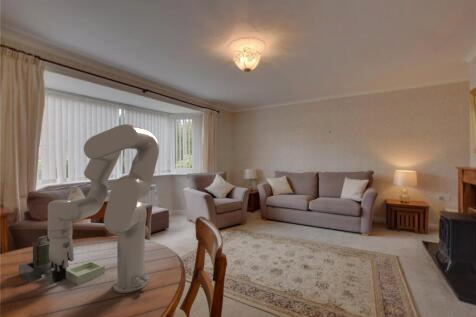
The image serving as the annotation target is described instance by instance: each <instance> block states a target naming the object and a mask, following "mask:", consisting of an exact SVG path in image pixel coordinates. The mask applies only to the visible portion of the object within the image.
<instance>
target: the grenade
mask: <svg viewBox="0 0 476 317" xmlns="http://www.w3.org/2000/svg"><path fill="white" fill-rule="evenodd" d="M34 242H35V243H34ZM31 245H32V261H33V265H34V269H36V268H39V267H40V268H42V276H43V275H44V276H45V271H46V270H49V269H52V261H50V260H49V240H48V235H42V236H39V237H37V238H36V239H35V240H34V241H32V242H31Z"/></svg>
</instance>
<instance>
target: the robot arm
mask: <svg viewBox="0 0 476 317" xmlns="http://www.w3.org/2000/svg"><path fill="white" fill-rule="evenodd" d="M127 149H128V150H129V149H130V150H136V154H135V156H134V158H133V160H132V162H131V166H130V170H129V173H128V175H123V176H121V177H119V178H117V180H116V181H115V182H114V183H113V185H112V187H111V189H110V192H109V178H110V176H111V174H112V172H113V170H114V168H115V166H116V164H117V162H118V161H119V158H120V156H121V154H122V151H124V150H127ZM83 154H84V155H85V156H86V157H87V158H88V159H89V161H88V163H87V165H86V168H85V169H84V171H83V175H84V177H85V178H86V179H88V180H89V181H90V188H89V192H88V193H87V195H86V196H85V198H84V197H83V198H81V199H77V200H70V199H55V200H52V201H50V202H48V205H47V236H48V238H47V240H48V241H49V260H50V261H52V262H53V263H54V270H56V271H54V281H55V282H57V283H60V282H62V281H64V280H66V279H67V278H66V270H67V268H69V262H73V261H74V260H75V256H74V255H75V253H74V241H73V222H78V221H81V220H84V219H86V218H88V217H92V216H94V215H96V214H97V213H98V212H99V211H100V210H101V209H102V207H103V206H104V202H105V201H106V199H107V197H108V192H109V197H108V200H107V204H106V207H105V211H104V215H103V216H104V217H103V225H104V226H105V229H106V231H108V232H109V233H111V234H114V235H117V241H116V242H117V244H116V246H117V248H116V250H117V251H116V252H117V254H116V255H117V256H116V259H117V264H116V265H117V274H116V276H117V278H116V280H114V282H113V283H112V289H113V291H114V292H116V293H121V294H124V293H125V294H126V293H132V292H135V291H138V290H141V289H143V288H145V287H146V286H147V285H148V284H149V282H150V277H149V275H148V274H147V271H145V270H146V262H145V261H146V252H145V251H146V250H145V246H146V245H145V243H146V241H145V240H146V225H147V224H146V223H147V217H148V215H147V212H148V211H147V207H146V206H145V205H144V203H142V202H141V201H139V200H140V199H143V198H145V197H146V196H147V195H148V194H149V193H150V191H151V187H152V183H153V179H154V175H155V172H156V171H155V170H156V166H157V162H158V159H159V155H160V144H159V141H158V140H157V138H156V137H155V136H154V134H152V132H150V131H149V130H147V129H145V128H142V127H139V126H136V125H132V124H128V123H127V124H126V123H125V124H120V125H119V124H118V125H117V126H114V127H111V128H110V129H107V130H104V131H103V132H99V133H97V134H94V135H92V136H91V137H89V138H88V139H87V140H86V141H85V143H84V145H83Z"/></svg>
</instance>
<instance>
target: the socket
mask: <svg viewBox="0 0 476 317" xmlns="http://www.w3.org/2000/svg"><path fill="white" fill-rule="evenodd" d="M52 268H54V263H53V262H52ZM18 275H20V276H19V277H20V278H22V279H23V280H25V281H26V282H28V283H29V284H30V283H33V282H36V281H38V280H42V278H43V275H42V268H40V267H39V268H36V269H34V265H33V260H32V261H28V262H24V263H21V264H18Z"/></svg>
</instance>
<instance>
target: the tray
mask: <svg viewBox="0 0 476 317" xmlns="http://www.w3.org/2000/svg"><path fill="white" fill-rule="evenodd" d="M105 272H106V271H105V265H104V264H101V263H99V262H96V261H94V260H90V261H87V262H84V263H82V264H79V265H75V266H73V267H70V268H68V269H67V268H66V279H67V280H69V281H70V282H72V283H73V284H76V285H77V286H79V285H81V284H84V283H86V282H88V281H91V280H93V279H95V278H97V277H100V276H103V275H105V274H106V273H105Z"/></svg>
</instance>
